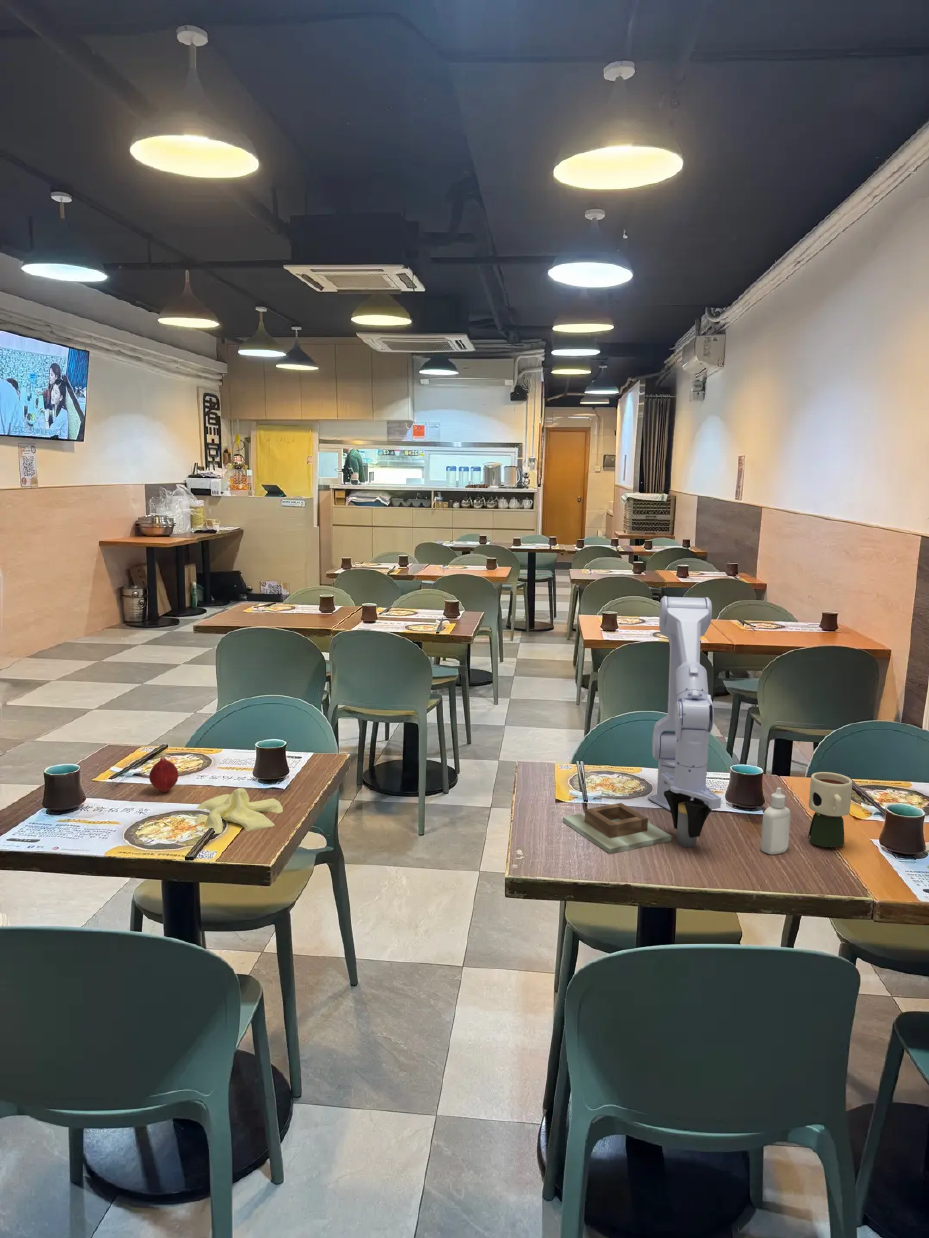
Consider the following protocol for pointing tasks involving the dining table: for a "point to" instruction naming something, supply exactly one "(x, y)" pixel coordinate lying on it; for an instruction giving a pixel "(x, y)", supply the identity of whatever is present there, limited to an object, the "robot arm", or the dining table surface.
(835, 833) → the character mug
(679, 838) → the yellow capped shaker
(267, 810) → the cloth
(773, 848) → the eye dropper bottle
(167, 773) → the onion
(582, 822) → the holder
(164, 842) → the dining table surface
